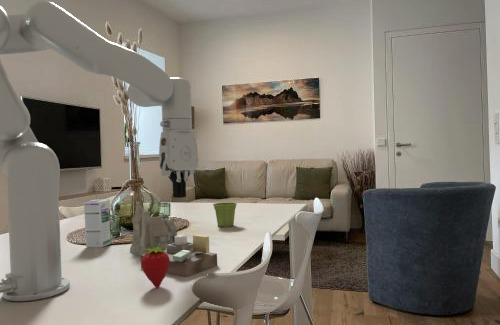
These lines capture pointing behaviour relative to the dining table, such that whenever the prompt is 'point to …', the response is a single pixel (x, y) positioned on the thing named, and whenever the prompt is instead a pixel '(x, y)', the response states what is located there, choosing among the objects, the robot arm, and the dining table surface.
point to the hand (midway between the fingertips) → (179, 197)
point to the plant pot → (225, 213)
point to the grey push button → (180, 240)
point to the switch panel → (189, 260)
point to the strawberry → (155, 265)
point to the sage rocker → (182, 255)
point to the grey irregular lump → (150, 232)
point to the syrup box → (97, 223)
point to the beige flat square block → (201, 243)
